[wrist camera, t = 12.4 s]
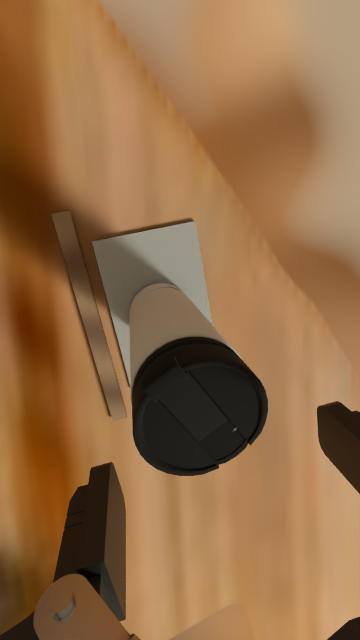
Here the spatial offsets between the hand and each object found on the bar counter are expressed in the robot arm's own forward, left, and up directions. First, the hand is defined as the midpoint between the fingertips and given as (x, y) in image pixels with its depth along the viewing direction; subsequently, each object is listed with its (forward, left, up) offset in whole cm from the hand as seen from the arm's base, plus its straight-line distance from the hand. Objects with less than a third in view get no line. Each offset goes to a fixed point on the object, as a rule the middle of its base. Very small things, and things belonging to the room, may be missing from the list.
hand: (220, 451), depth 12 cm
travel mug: (0, 0, -22) cm, 22 cm away
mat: (0, 0, -22) cm, 22 cm away
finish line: (0, -7, -22) cm, 23 cm away
